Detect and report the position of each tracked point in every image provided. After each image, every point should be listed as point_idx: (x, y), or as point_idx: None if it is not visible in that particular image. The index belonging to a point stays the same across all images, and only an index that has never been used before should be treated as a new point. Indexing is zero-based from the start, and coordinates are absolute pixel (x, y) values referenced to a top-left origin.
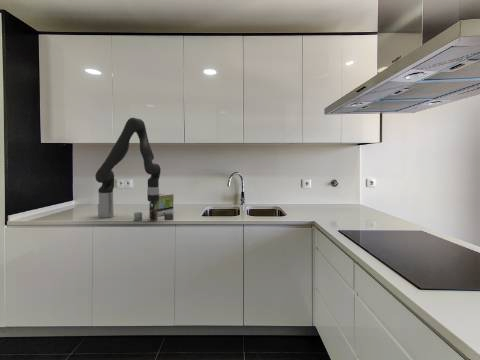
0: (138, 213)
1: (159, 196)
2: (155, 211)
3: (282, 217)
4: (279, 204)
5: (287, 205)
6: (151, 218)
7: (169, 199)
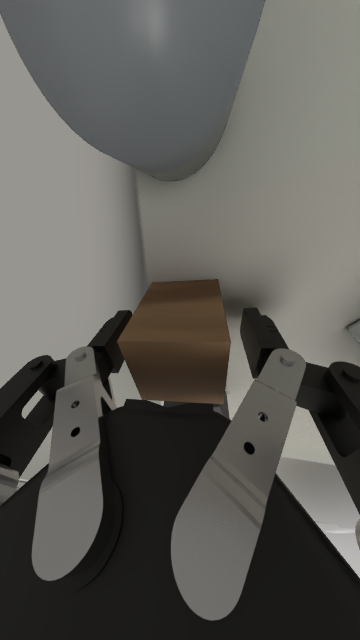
0: (33, 52)
1: None
2: (154, 392)
3: None
4: (344, 527)
5: (321, 526)
6: (118, 315)
7: None
